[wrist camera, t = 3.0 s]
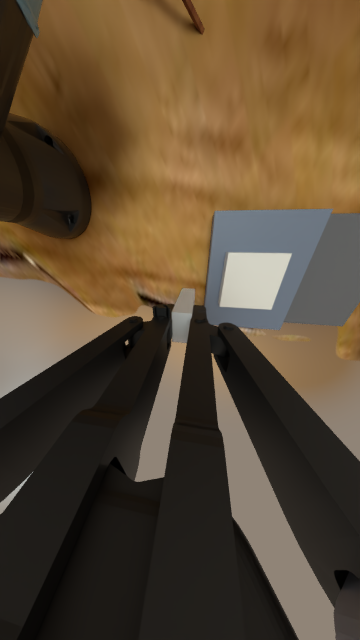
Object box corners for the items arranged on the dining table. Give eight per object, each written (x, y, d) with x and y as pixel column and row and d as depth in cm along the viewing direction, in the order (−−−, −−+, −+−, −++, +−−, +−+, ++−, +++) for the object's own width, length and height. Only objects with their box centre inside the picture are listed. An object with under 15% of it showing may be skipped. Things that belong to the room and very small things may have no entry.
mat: (272, 320, 32) (273, 321, 32) (314, 214, 22) (316, 213, 22) (341, 325, 30) (342, 326, 30) (418, 213, 21) (422, 212, 20)
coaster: (218, 301, 27) (219, 306, 25) (225, 251, 23) (228, 252, 21) (265, 304, 26) (271, 309, 24) (282, 252, 22) (292, 253, 20)
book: (202, 316, 34) (203, 324, 30) (213, 215, 24) (215, 210, 20) (271, 320, 32) (279, 329, 28) (312, 214, 22) (333, 208, 19)
